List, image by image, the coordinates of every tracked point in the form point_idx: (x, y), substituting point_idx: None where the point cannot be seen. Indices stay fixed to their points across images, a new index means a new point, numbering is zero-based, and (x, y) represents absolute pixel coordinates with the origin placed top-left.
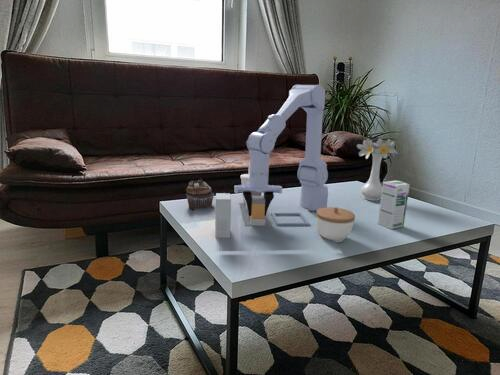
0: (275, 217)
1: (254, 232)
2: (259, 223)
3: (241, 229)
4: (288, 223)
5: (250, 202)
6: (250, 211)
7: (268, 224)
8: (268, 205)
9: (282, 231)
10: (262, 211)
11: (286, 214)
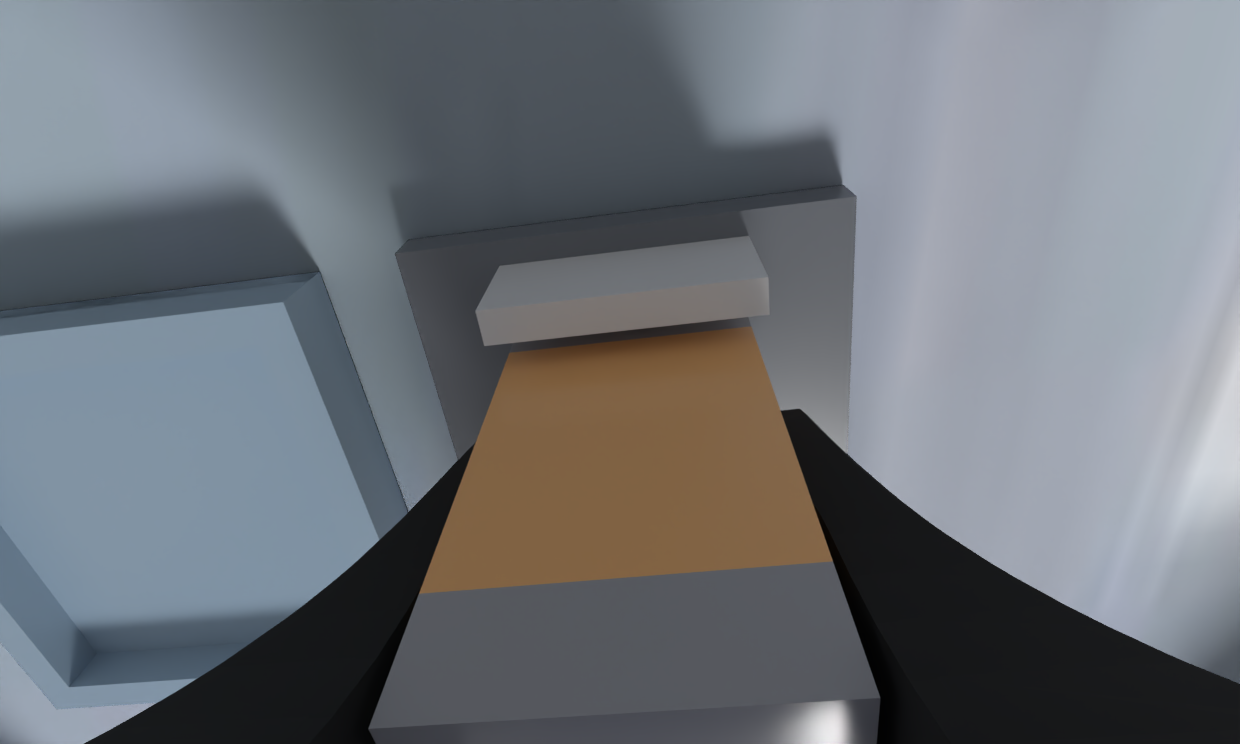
0: (355, 536)
1: (686, 24)
2: (595, 266)
3: (909, 147)
4: (94, 326)
5: (901, 600)
6: (802, 451)
7: (447, 322)
8: (341, 583)
9: (202, 138)
10: (522, 444)
11: None
